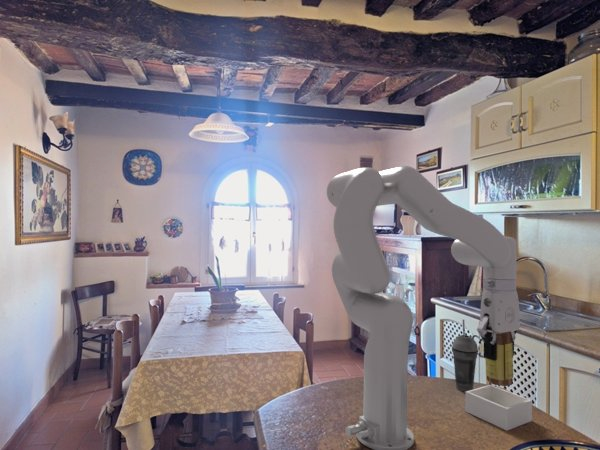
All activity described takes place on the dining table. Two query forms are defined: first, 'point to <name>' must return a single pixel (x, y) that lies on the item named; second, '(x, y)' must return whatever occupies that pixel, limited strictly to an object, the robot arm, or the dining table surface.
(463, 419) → the dining table surface
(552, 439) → the dining table surface
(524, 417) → the box
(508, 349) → the sauce bottle
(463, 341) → the beverage cup
